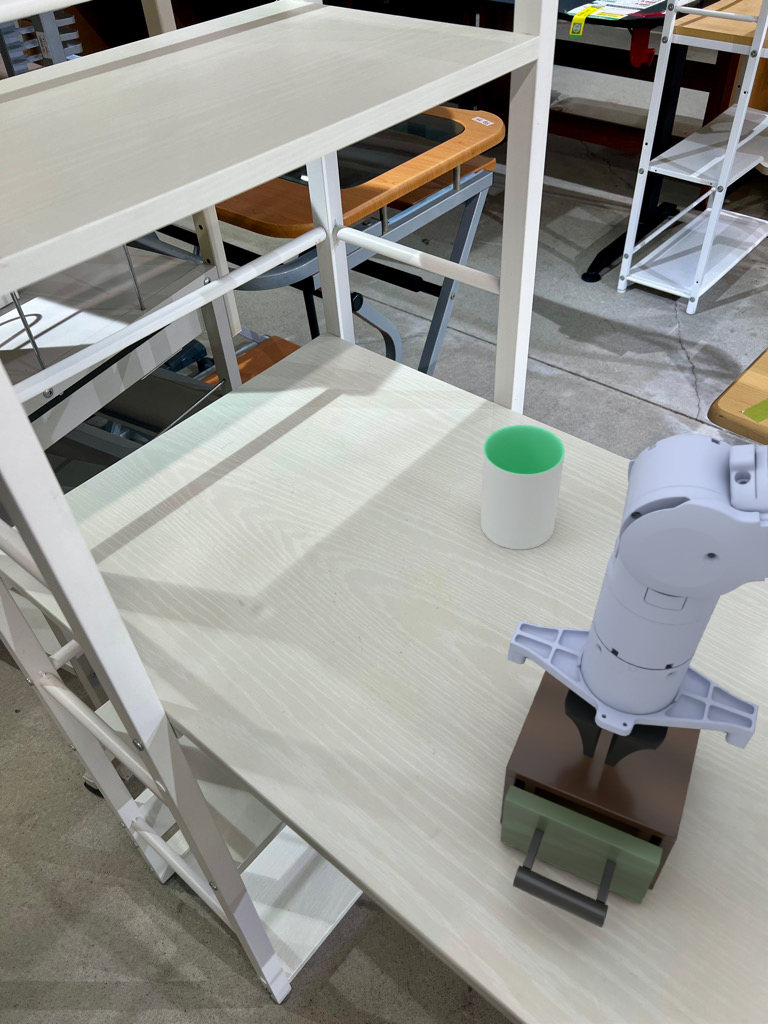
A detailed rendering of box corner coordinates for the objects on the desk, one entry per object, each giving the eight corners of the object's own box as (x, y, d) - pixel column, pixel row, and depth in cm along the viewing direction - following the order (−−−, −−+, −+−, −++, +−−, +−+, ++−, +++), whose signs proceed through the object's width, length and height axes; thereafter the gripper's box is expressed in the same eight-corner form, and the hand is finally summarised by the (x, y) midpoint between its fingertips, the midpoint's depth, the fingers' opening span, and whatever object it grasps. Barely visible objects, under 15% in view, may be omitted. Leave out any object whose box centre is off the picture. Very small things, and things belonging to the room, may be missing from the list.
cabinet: (652, 890, 54) (677, 839, 48) (499, 822, 58) (505, 768, 52) (685, 745, 62) (710, 686, 56) (549, 695, 66) (558, 635, 60)
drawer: (626, 965, 50) (644, 930, 45) (479, 894, 53) (482, 855, 49) (673, 765, 60) (692, 720, 55) (547, 718, 63) (554, 671, 59)
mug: (482, 475, 88) (485, 402, 81) (551, 477, 87) (560, 404, 80) (479, 547, 80) (482, 473, 73) (556, 551, 79) (566, 476, 72)
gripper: (498, 634, 42) (482, 754, 51) (775, 736, 37) (701, 848, 46) (538, 551, 46) (516, 675, 56) (789, 632, 41) (719, 754, 51)
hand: (602, 748), depth 51 cm, fingers closed
